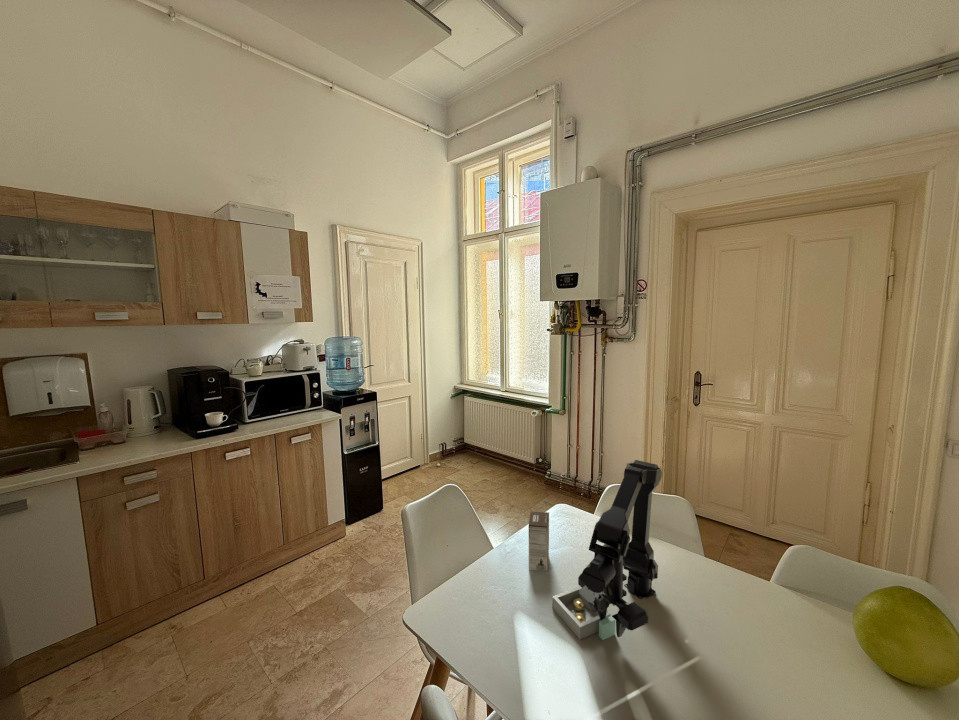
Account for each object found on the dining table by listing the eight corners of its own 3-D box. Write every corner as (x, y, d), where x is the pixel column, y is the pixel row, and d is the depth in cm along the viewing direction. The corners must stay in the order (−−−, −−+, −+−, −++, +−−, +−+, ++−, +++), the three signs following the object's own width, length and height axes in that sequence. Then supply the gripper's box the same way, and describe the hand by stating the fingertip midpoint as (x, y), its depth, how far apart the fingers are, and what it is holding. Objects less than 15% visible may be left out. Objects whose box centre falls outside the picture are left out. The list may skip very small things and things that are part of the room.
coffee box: (530, 553, 136) (530, 510, 134) (549, 556, 135) (549, 511, 133) (528, 571, 127) (528, 524, 125) (548, 573, 126) (548, 526, 124)
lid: (617, 628, 104) (617, 610, 104) (654, 664, 93) (654, 644, 93) (587, 642, 100) (587, 623, 100) (622, 681, 89) (623, 660, 89)
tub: (580, 598, 115) (580, 585, 114) (610, 627, 104) (610, 614, 103) (552, 609, 111) (552, 596, 110) (579, 641, 100) (580, 627, 99)
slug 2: (580, 618, 107) (580, 611, 106) (588, 626, 104) (588, 619, 104) (571, 621, 105) (571, 615, 105) (578, 629, 103) (578, 623, 102)
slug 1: (579, 603, 112) (579, 596, 112) (586, 610, 109) (586, 603, 109) (571, 606, 111) (571, 600, 110) (578, 613, 108) (578, 607, 108)
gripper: (561, 559, 103) (562, 614, 104) (613, 604, 86) (613, 670, 87) (594, 547, 107) (594, 601, 109) (650, 588, 91) (649, 651, 92)
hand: (610, 628), depth 99 cm, fingers open, 5 cm apart
